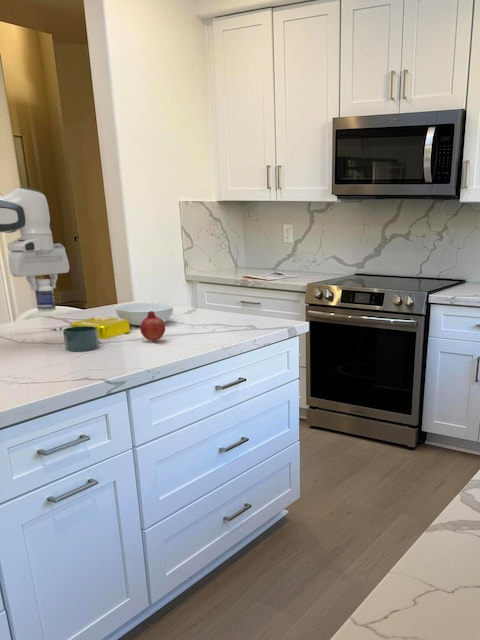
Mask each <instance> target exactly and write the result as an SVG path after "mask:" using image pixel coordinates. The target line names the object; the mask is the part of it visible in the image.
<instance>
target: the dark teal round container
mask: <svg viewBox="0 0 480 640" xmlns="http://www.w3.org/2000/svg"><path fill="white" fill-rule="evenodd" d="M62 332H63V339H64V345H65V346H64V347H65V350H66V351H68V352H88V351H94V350H97V349H99V348H100V341H99V340H100V339H99V338H98V331H97V328H96V327H91V326H79V327H71V326H70V327H66V328H64V329H62Z"/></svg>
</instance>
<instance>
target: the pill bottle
mask: <svg viewBox="0 0 480 640" xmlns="http://www.w3.org/2000/svg"><path fill="white" fill-rule="evenodd" d="M35 283H36V285H38V286H39V287H38V288H39V290H37V291H34V294H35V301H36V308H37V309H36V310H37V311H38V312H41V313H43V312H44V313H45V312H55V311H56V301H55V293H54V292H55V291H54V289H53V287H51V286H50V285H49V284H50V278H37V279H36V278H35Z"/></svg>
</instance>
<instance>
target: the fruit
mask: <svg viewBox="0 0 480 640" xmlns="http://www.w3.org/2000/svg"><path fill="white" fill-rule="evenodd" d="M139 327H140V333H141V335H142V337H143V338H145V339H146V340H148V341H152V342H155V341H158V340H161V338H163V336H164V334H165V333H166V324H165V322H163V321H162V319H160V318H159V317H156V316H155V314H154V312H153V311H150V312H148V316H147V317H146V318H145V319H144V320H143V321H142V323H141V326H139Z"/></svg>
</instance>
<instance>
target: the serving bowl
mask: <svg viewBox="0 0 480 640" xmlns="http://www.w3.org/2000/svg"><path fill="white" fill-rule="evenodd" d="M115 311H116V315H117V316H118V318H120V319H128V320H129V323H130V326H131V325H132V326H136V327H141V323H142V321H143V320H144V319H145V318H146V317H147V316H148V312H150V311H153V312H154V314H155V316H156V317H159V318H160V319H162V321H163V322H164V323H166V322H168V321H169V320H170V318H171V317H172V315H173V311H174V306H173V305H172V304H169V303H166V302H165V303H163V302H155V301H154V302H153V301H152V302H151V301H147V302H145V301H143V302H130V303H123V304H119V305H117V306H115Z"/></svg>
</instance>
